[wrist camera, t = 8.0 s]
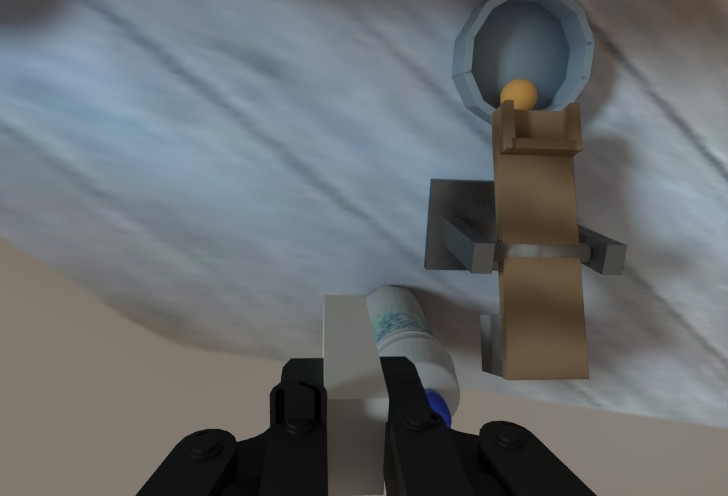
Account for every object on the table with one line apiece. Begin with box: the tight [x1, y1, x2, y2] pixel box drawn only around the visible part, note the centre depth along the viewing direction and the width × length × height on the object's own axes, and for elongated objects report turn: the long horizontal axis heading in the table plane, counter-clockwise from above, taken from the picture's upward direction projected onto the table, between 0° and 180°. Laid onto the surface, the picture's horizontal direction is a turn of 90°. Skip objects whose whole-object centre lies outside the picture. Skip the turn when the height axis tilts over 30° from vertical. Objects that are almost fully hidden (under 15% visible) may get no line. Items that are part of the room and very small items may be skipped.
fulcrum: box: [424, 179, 627, 275], centre depth 42 cm, size 9×14×12 cm, turn 88°
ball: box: [500, 79, 537, 110], centre depth 42 cm, size 3×3×3 cm
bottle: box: [365, 285, 460, 428], centre depth 40 cm, size 7×7×20 cm
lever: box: [480, 100, 591, 380], centre depth 40 cm, size 22×8×8 cm, turn 179°
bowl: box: [452, 0, 595, 125], centre depth 42 cm, size 11×11×4 cm
